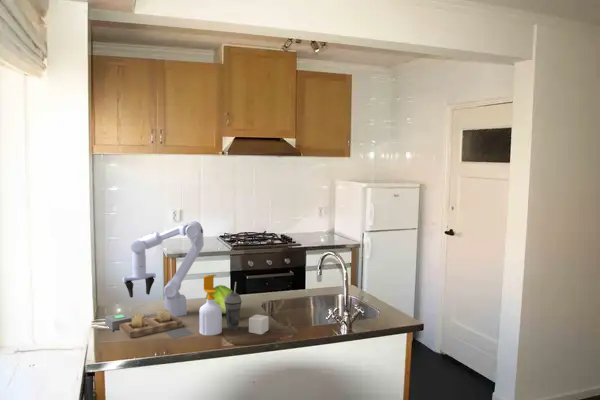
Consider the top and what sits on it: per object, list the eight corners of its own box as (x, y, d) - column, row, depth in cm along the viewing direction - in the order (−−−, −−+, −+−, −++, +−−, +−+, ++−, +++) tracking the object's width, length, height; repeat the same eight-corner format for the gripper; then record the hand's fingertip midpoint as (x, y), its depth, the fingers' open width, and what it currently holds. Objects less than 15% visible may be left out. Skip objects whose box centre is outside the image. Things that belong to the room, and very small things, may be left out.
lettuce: (211, 322, 223) (211, 296, 222) (203, 309, 242) (203, 284, 241) (242, 319, 227) (242, 293, 226) (232, 306, 246) (232, 282, 245)
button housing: (126, 321, 223) (126, 312, 223) (133, 326, 216) (133, 317, 216) (105, 325, 218) (105, 316, 217) (112, 331, 211) (112, 321, 210)
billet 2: (166, 324, 220) (166, 308, 219) (170, 327, 216) (169, 311, 216) (157, 326, 217) (157, 310, 216) (161, 329, 214) (160, 313, 213)
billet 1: (144, 330, 212) (144, 314, 211) (142, 334, 208) (141, 317, 207) (135, 330, 212) (134, 314, 211) (132, 334, 208) (131, 317, 207)
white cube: (255, 328, 217) (256, 314, 217) (268, 330, 215) (268, 316, 214) (248, 332, 212) (248, 318, 211) (261, 334, 209) (261, 320, 209)
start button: (122, 321, 219) (122, 314, 219) (125, 323, 217) (125, 316, 216) (113, 323, 217) (113, 316, 217) (116, 325, 214) (116, 318, 214)
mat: (184, 328, 215) (184, 327, 215) (194, 335, 208) (194, 333, 208) (164, 333, 209) (164, 332, 209) (173, 339, 202) (173, 338, 202)
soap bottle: (203, 338, 204) (203, 277, 202) (196, 330, 213) (196, 272, 210) (224, 334, 209) (224, 275, 206) (217, 327, 217) (217, 270, 214)
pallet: (170, 320, 225) (169, 313, 225) (182, 328, 216) (182, 321, 215) (119, 331, 211) (119, 324, 211) (130, 339, 202) (130, 332, 202)
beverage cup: (224, 325, 219) (224, 279, 217) (241, 325, 220) (241, 279, 218) (223, 331, 212) (223, 284, 210) (241, 331, 213) (241, 284, 211)
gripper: (151, 262, 236) (151, 290, 238) (119, 266, 227) (120, 296, 228) (157, 264, 231) (157, 294, 232) (125, 269, 222) (126, 299, 223)
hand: (139, 295), depth 230 cm, fingers open, 7 cm apart
